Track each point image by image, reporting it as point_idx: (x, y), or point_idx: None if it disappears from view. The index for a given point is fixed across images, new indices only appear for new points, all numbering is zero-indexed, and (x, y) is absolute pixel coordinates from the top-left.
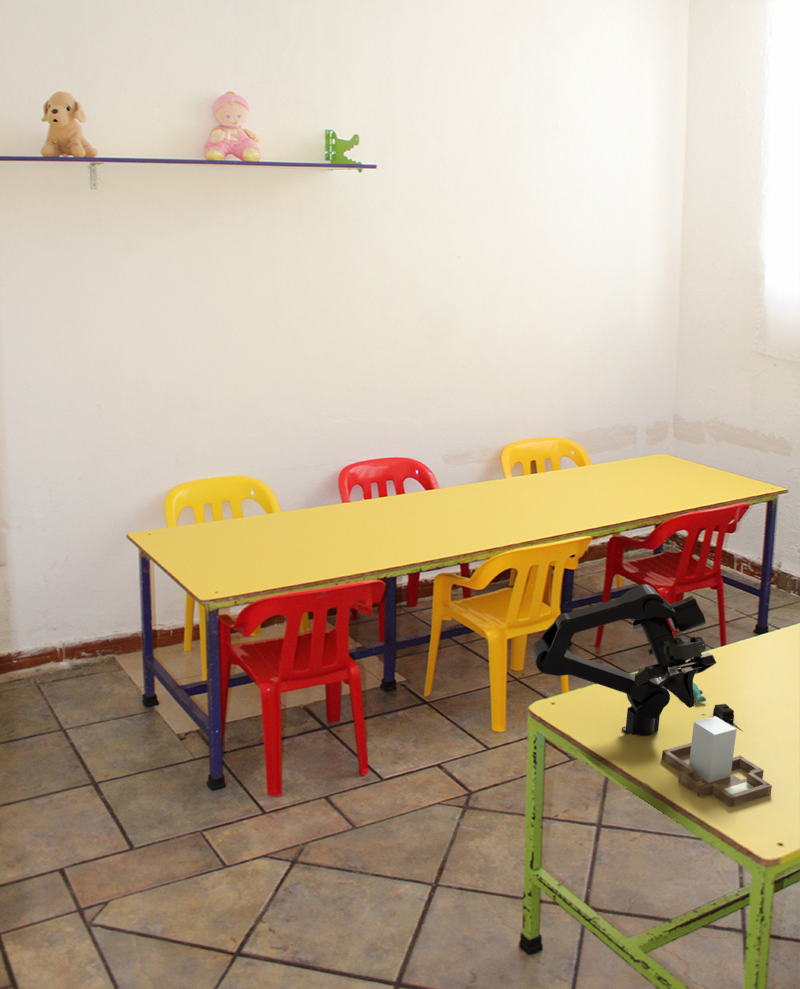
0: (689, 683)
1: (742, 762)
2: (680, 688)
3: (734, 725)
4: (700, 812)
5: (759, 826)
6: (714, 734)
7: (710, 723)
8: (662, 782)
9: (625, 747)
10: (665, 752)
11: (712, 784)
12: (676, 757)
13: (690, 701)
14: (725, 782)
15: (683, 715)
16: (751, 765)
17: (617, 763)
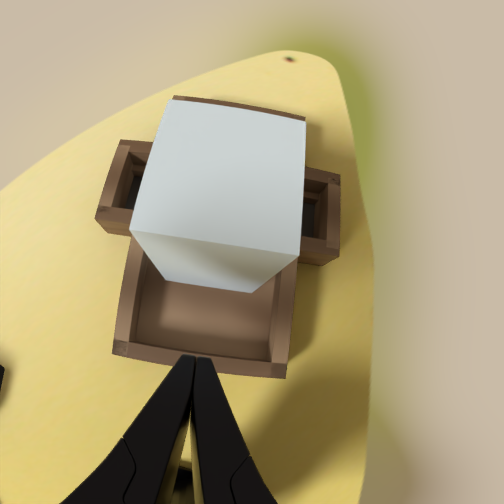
0: (131, 497)
1: (115, 200)
2: (265, 493)
3: None
4: (348, 173)
5: (279, 90)
6: (305, 123)
7: (231, 190)
8: (340, 301)
9: (290, 474)
10: (286, 365)
11: None
12: (279, 324)
13: (206, 380)
14: None
15: (28, 479)
16: (121, 167)
17: (367, 421)
